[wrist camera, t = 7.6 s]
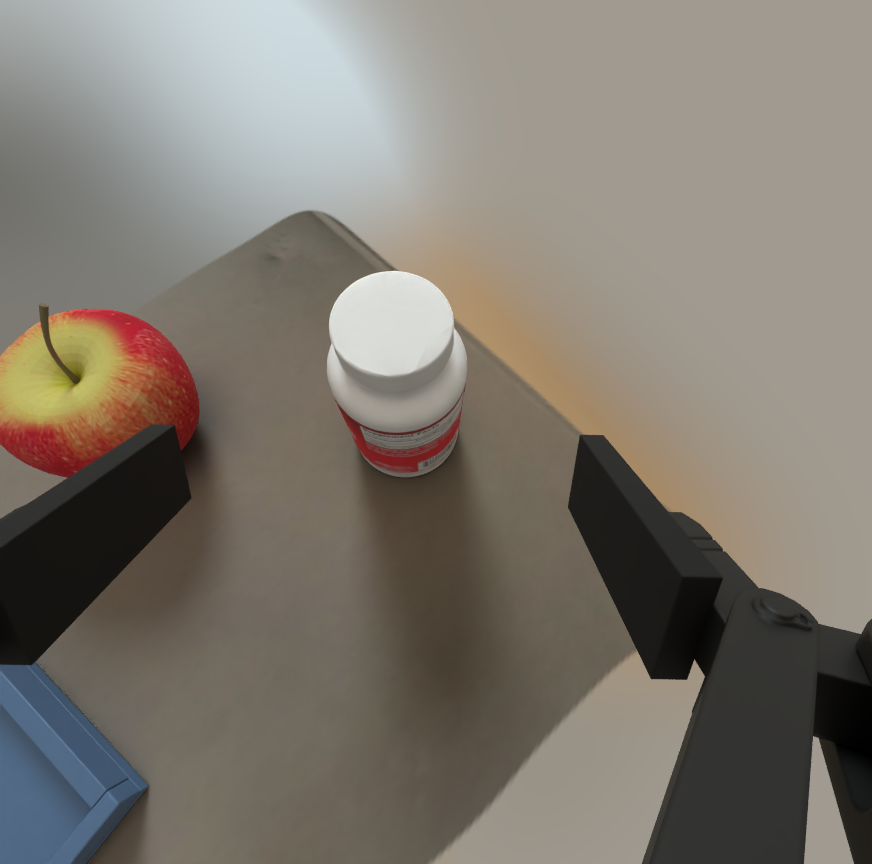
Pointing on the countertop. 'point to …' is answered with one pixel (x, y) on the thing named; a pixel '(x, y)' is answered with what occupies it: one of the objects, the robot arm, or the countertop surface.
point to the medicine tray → (55, 775)
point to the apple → (90, 388)
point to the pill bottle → (397, 371)
